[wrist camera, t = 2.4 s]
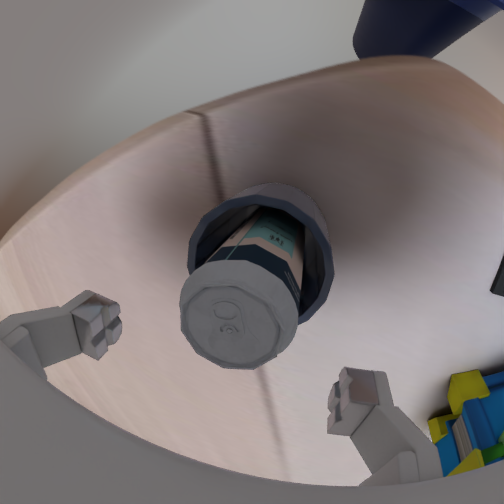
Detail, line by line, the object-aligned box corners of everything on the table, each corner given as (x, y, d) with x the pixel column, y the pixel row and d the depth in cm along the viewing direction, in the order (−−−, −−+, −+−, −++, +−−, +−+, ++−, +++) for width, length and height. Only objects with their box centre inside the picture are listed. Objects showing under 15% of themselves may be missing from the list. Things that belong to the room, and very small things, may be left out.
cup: (232, 173, 20) (195, 182, 13) (337, 196, 19) (351, 216, 12) (218, 268, 23) (183, 312, 16) (311, 291, 22) (309, 345, 15)
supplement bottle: (247, 267, 22) (188, 373, 11) (237, 208, 20) (153, 274, 9) (308, 263, 21) (300, 378, 10) (301, 201, 19) (290, 266, 8)
